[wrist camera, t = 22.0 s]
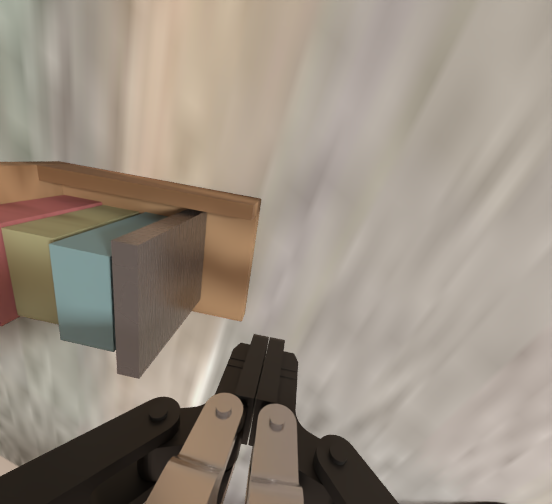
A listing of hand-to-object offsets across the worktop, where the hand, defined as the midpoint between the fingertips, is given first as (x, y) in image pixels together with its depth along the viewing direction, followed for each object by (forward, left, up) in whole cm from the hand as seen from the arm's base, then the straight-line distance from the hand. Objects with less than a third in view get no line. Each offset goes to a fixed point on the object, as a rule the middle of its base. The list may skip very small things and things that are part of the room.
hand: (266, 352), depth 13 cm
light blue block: (0, +9, -8) cm, 13 cm away
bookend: (+1, +7, -8) cm, 11 cm away
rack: (+1, +11, -10) cm, 14 cm away
